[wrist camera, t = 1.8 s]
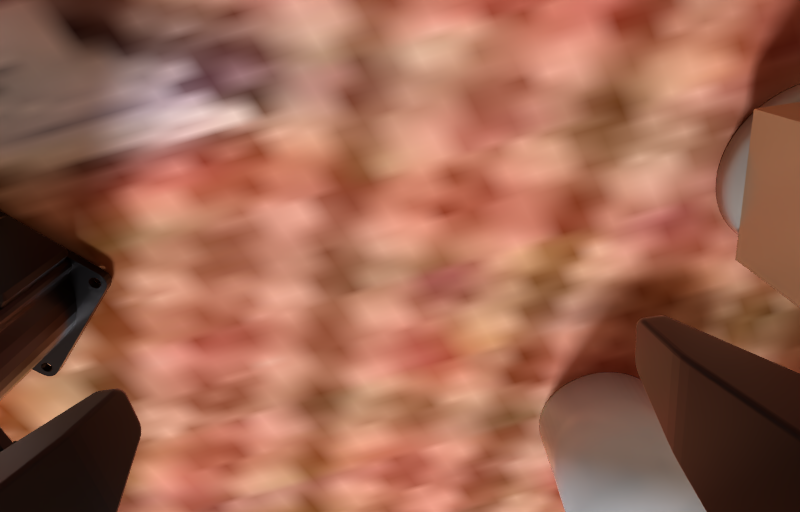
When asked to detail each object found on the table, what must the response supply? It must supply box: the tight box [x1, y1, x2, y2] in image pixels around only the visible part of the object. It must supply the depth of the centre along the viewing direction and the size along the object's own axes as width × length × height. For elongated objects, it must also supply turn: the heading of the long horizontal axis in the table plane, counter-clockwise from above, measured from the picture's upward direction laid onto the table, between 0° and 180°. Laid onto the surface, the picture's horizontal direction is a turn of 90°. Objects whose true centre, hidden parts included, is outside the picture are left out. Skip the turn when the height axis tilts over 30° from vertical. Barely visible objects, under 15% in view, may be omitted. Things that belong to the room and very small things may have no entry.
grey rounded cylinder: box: [539, 372, 706, 512], centre depth 24 cm, size 6×6×6 cm
